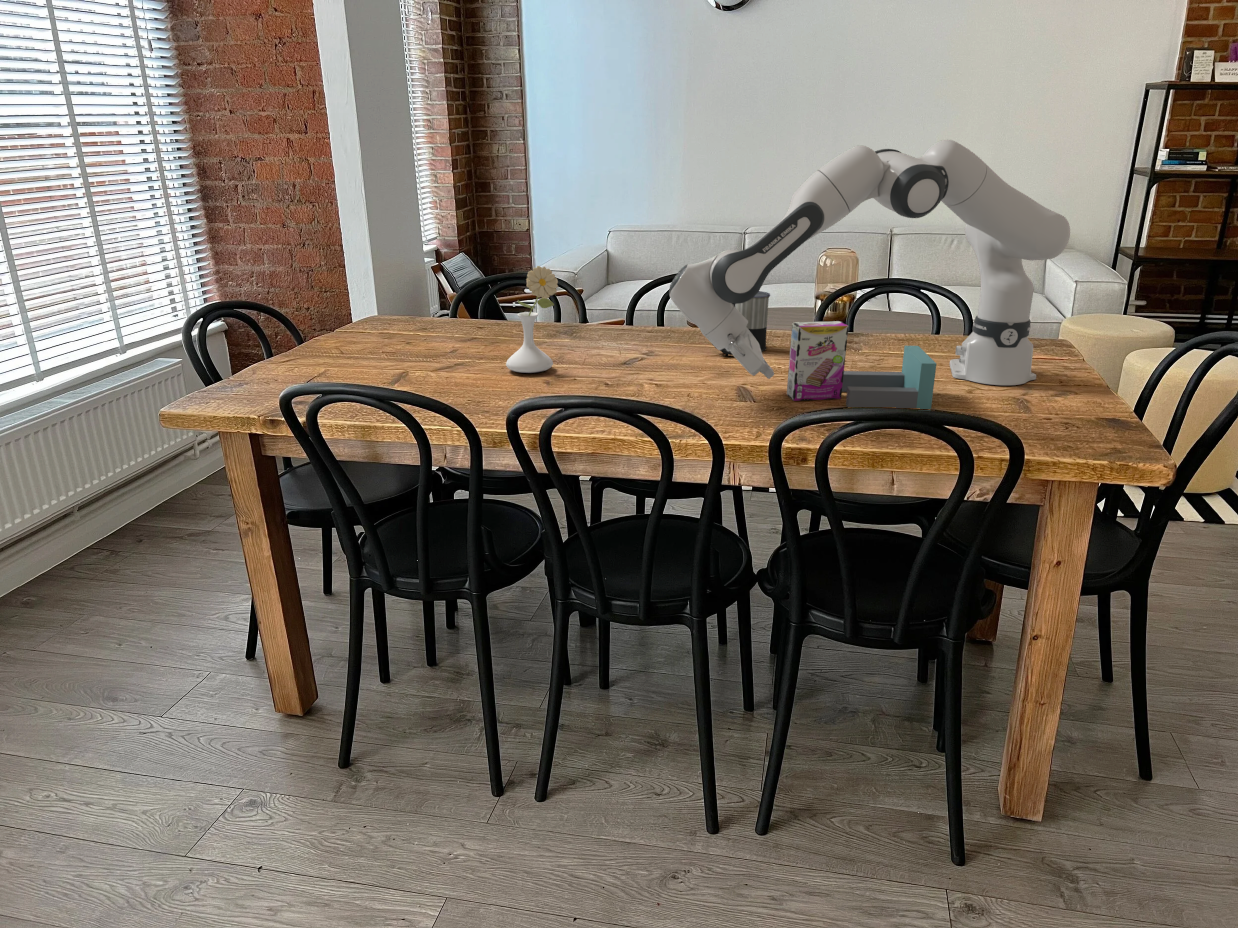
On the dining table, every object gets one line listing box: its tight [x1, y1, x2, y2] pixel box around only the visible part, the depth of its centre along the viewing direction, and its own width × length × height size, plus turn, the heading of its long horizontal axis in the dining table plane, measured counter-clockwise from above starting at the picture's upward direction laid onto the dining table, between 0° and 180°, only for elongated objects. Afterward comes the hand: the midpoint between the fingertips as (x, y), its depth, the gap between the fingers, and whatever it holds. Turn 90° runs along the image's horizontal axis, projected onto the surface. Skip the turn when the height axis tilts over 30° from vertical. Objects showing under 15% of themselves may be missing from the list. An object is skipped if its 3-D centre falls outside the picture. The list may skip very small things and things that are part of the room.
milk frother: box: [711, 290, 771, 357], centre depth 238 cm, size 14×16×15 cm
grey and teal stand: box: [842, 345, 937, 410], centre depth 197 cm, size 16×17×10 cm
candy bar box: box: [786, 320, 849, 402], centre depth 197 cm, size 11×5×16 cm, turn 100°
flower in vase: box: [505, 265, 559, 374], centre depth 218 cm, size 13×11×25 cm
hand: (771, 375), depth 199 cm, fingers closed
